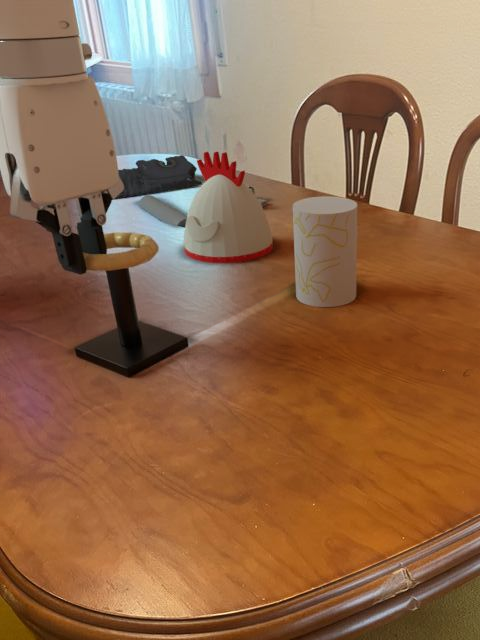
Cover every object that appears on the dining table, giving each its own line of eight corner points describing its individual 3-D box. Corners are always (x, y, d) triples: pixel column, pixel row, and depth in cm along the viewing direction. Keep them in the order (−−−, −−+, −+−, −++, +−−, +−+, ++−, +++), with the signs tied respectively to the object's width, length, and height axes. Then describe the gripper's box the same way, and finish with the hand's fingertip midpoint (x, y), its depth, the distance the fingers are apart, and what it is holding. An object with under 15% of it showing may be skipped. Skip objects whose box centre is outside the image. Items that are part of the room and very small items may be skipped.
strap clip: (255, 202, 129) (254, 180, 127) (268, 204, 128) (267, 181, 125) (229, 213, 123) (226, 190, 121) (242, 215, 122) (240, 191, 119)
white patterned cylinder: (286, 302, 87) (282, 210, 80) (309, 281, 93) (307, 194, 87) (344, 310, 85) (344, 216, 78) (364, 288, 91) (365, 199, 84)
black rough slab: (85, 186, 143) (81, 162, 140) (181, 172, 152) (178, 150, 150) (105, 201, 132) (101, 176, 129) (207, 185, 141) (204, 162, 139)
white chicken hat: (221, 234, 112) (211, 140, 104) (289, 246, 106) (285, 147, 98) (167, 259, 102) (151, 157, 94) (239, 273, 96) (229, 166, 88)
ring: (50, 262, 69) (46, 247, 68) (119, 240, 75) (116, 226, 74) (108, 278, 64) (105, 262, 63) (176, 253, 71) (174, 238, 70)
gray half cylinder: (158, 202, 130) (157, 193, 129) (198, 226, 116) (197, 216, 115) (138, 206, 128) (136, 197, 127) (176, 230, 114) (175, 220, 113)
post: (76, 356, 75) (52, 261, 69) (136, 328, 81) (120, 238, 75) (129, 378, 71) (108, 278, 65) (188, 346, 77) (175, 252, 71)
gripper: (87, 54, 64) (122, 240, 74) (-73, 69, 54) (-6, 284, 64) (139, 56, 61) (168, 252, 71) (-22, 72, 50) (40, 300, 60)
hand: (85, 266), depth 67 cm, fingers closed on ring, 2 cm apart
